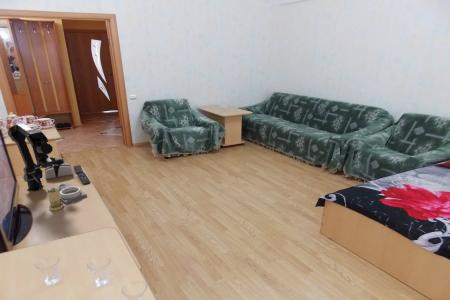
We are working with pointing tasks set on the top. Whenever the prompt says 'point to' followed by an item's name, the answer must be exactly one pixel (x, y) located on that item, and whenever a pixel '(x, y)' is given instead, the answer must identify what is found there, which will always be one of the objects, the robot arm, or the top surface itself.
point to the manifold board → (69, 193)
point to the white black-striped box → (62, 171)
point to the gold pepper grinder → (55, 200)
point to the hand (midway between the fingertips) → (48, 180)
